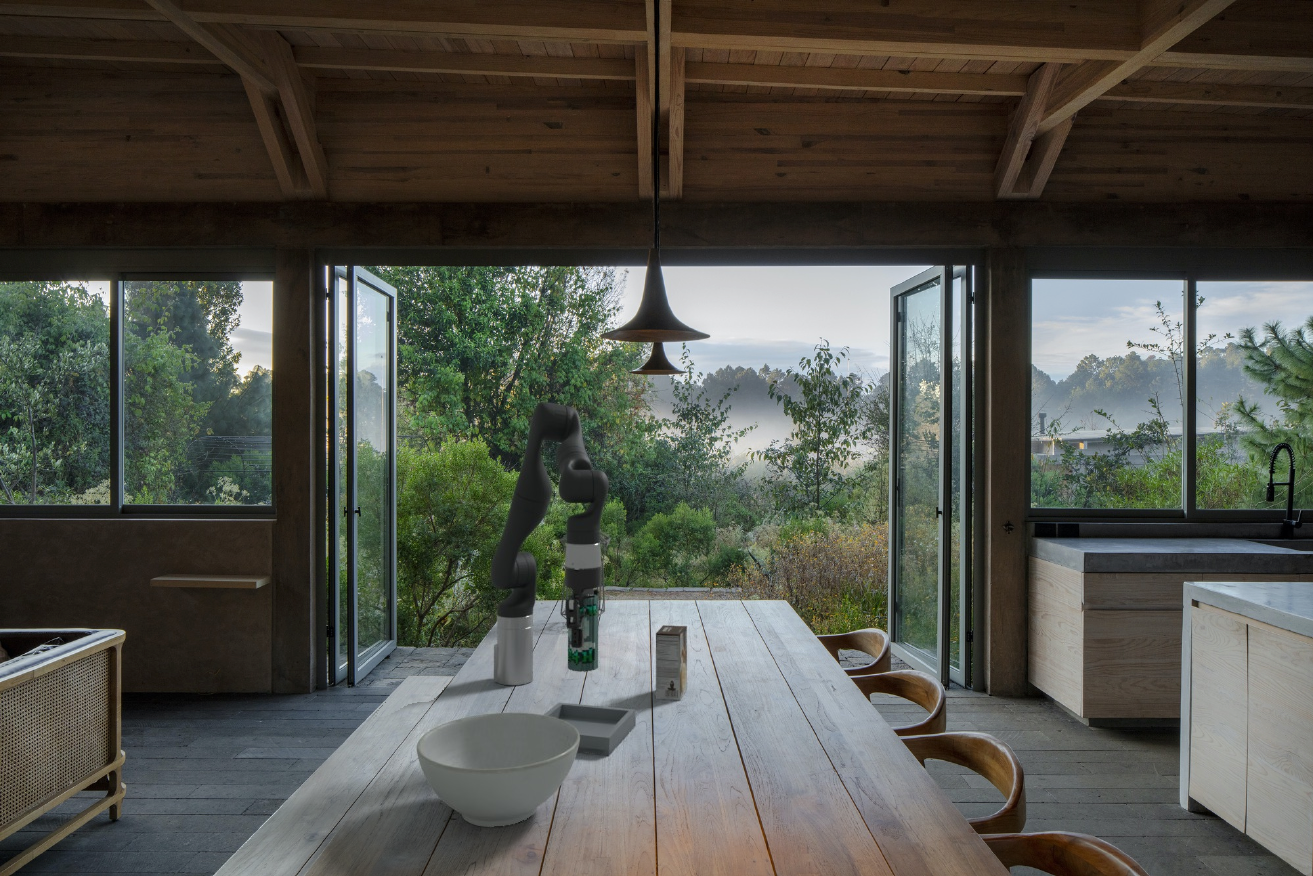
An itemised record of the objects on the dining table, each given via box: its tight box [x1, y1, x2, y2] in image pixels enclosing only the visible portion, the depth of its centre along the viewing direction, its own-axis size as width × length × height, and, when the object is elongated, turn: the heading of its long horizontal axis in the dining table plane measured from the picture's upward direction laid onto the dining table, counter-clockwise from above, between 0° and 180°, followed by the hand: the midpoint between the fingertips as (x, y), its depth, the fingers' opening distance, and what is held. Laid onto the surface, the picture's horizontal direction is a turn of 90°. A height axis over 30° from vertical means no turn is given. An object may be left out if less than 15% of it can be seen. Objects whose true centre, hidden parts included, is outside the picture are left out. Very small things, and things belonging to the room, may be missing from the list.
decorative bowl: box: [416, 712, 580, 828], centre depth 137 cm, size 27×27×12 cm
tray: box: [543, 702, 637, 756], centre depth 173 cm, size 18×18×4 cm
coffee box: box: [655, 625, 688, 701], centre depth 202 cm, size 9×6×16 cm
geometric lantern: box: [558, 530, 612, 620], centre depth 278 cm, size 16×16×35 cm
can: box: [567, 594, 599, 673], centre depth 173 cm, size 6×6×15 cm
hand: (582, 643), depth 173 cm, fingers closed on can, 6 cm apart
